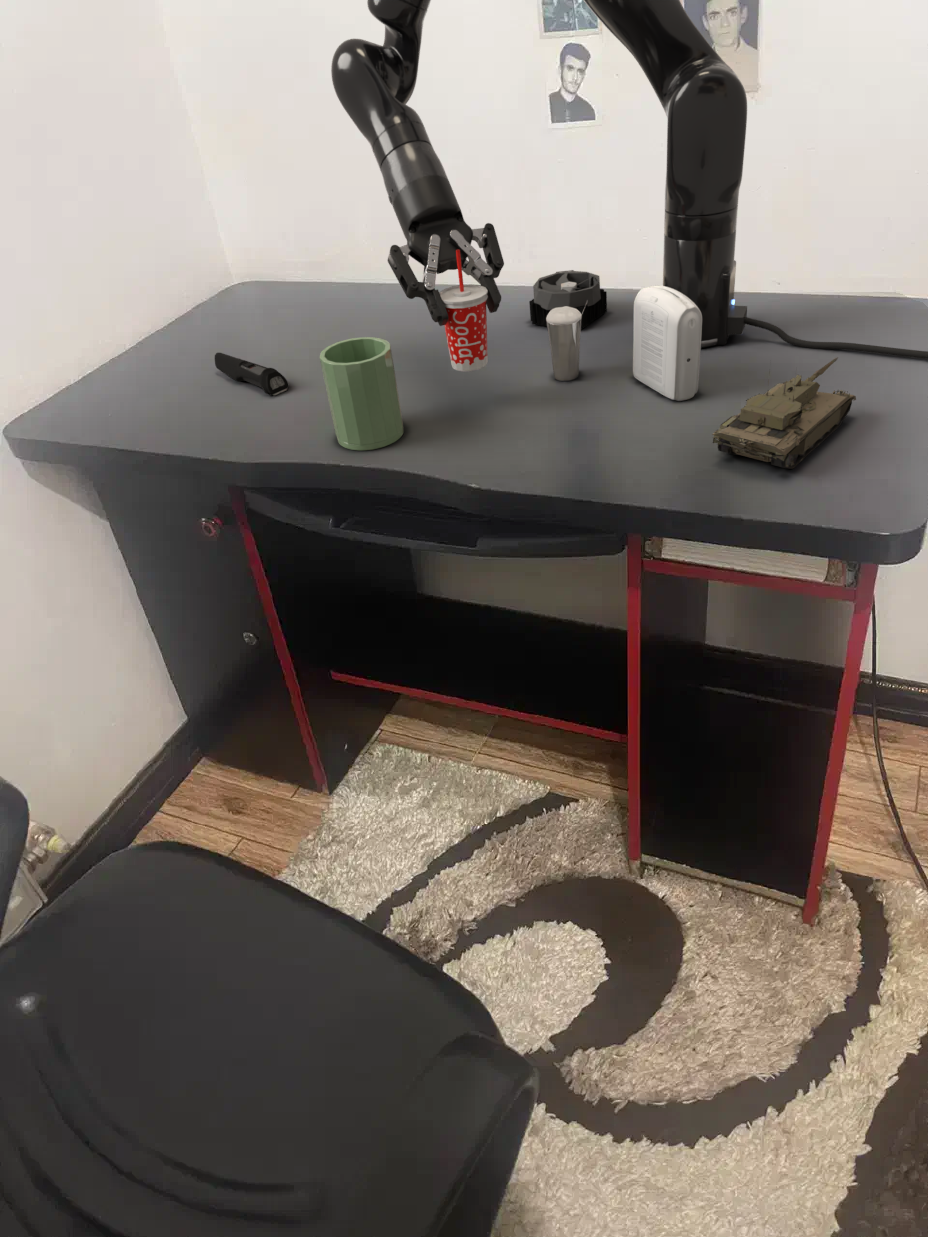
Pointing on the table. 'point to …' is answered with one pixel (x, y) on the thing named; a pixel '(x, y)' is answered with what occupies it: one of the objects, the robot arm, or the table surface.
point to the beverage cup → (466, 323)
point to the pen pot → (362, 393)
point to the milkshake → (564, 341)
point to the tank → (784, 422)
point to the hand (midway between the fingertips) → (470, 315)
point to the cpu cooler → (568, 296)
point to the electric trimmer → (251, 373)
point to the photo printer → (667, 342)
